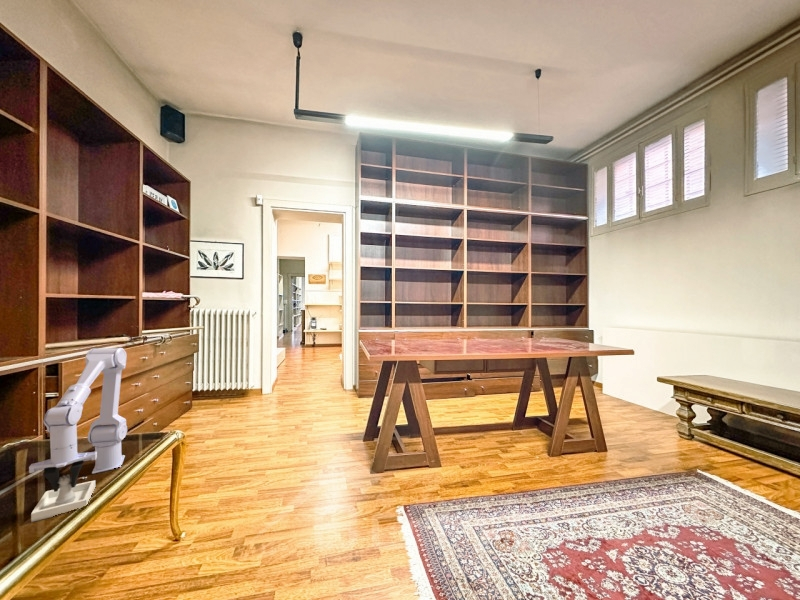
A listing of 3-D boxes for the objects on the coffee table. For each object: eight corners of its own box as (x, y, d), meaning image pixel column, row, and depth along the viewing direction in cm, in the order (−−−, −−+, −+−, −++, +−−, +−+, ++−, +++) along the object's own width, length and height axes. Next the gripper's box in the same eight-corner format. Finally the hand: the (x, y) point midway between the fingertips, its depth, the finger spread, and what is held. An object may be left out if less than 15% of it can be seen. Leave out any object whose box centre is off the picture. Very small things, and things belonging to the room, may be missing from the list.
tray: (46, 499, 103) (45, 491, 103) (95, 487, 110) (95, 480, 109) (31, 522, 94) (31, 513, 93) (86, 507, 100) (86, 499, 100)
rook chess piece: (75, 495, 105) (75, 471, 104) (76, 502, 101) (75, 477, 101) (55, 501, 101) (54, 476, 101) (55, 509, 98) (54, 483, 98)
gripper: (24, 457, 93) (25, 503, 94) (92, 444, 101) (94, 487, 102) (33, 446, 99) (35, 489, 100) (98, 435, 107) (99, 475, 108)
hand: (65, 487), depth 101 cm, fingers closed on rook chess piece, 3 cm apart
